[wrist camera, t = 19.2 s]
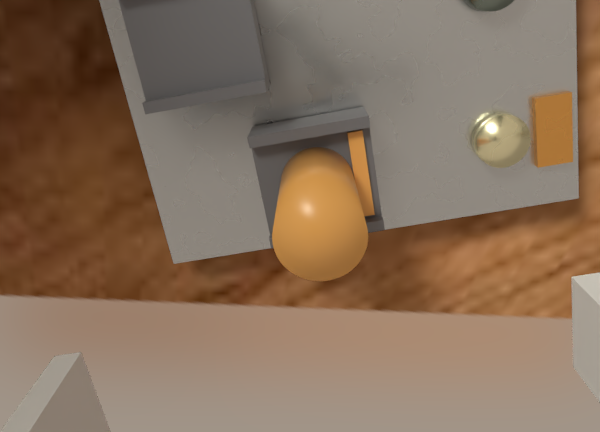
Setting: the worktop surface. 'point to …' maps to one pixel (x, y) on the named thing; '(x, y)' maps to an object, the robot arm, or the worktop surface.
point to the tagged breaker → (317, 133)
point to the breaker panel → (377, 112)
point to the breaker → (195, 51)
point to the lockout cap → (319, 216)
